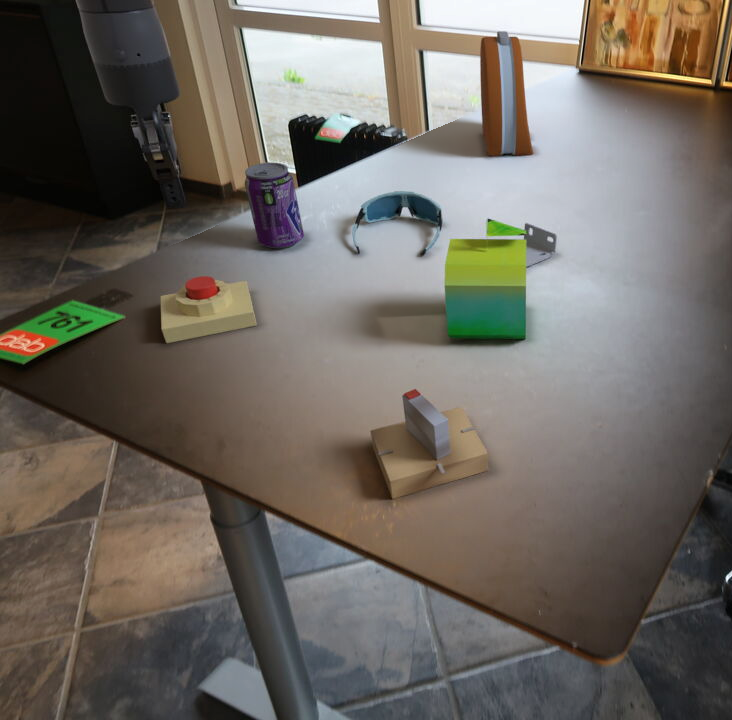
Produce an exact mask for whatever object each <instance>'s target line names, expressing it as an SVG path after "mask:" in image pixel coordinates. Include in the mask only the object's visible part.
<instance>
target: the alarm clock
mask: <svg viewBox="0 0 732 720" xmlns="http://www.w3.org/2000/svg"><path fill="white" fill-rule="evenodd" d="M479 54H480V55H479V59H480V61H479V64H480V65H479V68H480V70H479V71H480V74H479V75H480V77H479V78H480V79H479V80H480V103H481V123H482V124H481V125H482V134H483V139H484V144H485V149H486V153H487V156H489V157H501V156H503V155H504V154H512V155H513V156H531V155H534V154H535V152H534V148H533V146H532V140H531V139H532V138H531V134H530V129H529V121H528V110H527V103H526V90H525V77H524V62H523V61H524V60H523V54H522V47H521V43H520V39H519V37H518V36H510V35H509V33H508V32H507V31H505V30H504V31H501V30H500V31H497V32H496V36H484V37H481V40H480V51H479Z"/></svg>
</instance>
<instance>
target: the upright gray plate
mask: <svg viewBox="0 0 732 720" xmlns="http://www.w3.org/2000/svg"><path fill="white" fill-rule="evenodd" d="M401 397H402V404H403V413H404V422H406V429H407V430H408V431H409V432H410V433H411V434H412V435H413V436H414V437H415V438H416V439H417V440H418V441H419V442H420V443H421V444H422V445H423V446H424V447H425V448H426V449H427V450H428V451H429V453H430V454H431V455H432V456H433V457H434V458H435V459H436V460H439V459H441V458H443V457H445V456H447V455H449V454H450V441H449V427H448V419H447V418H446V417H445V416H444V415H443V414H442V413H441V412H442V411H440V410H439V409H438V408H436V406H435V405H433V404H432V403H431V402H430V401H429V400H428V399H427V398H426V397H425V396H424V395H423V394H422V393H421V392H419V390H418V389H416V388H414V389H411V390H408V391H407V392H404V393H403V394H402V395H401Z"/></svg>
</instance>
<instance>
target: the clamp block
mask: <svg viewBox="0 0 732 720" xmlns="http://www.w3.org/2000/svg"><path fill="white" fill-rule="evenodd" d="M440 412H441V413H442V414H443V415H444V416H445V417H446V418H447V419H448V427H449V441H450V454H449V455H447V456H445V457H443V458H441V459H439V460H436V459H435V458H434V457H433V456H432V455H431V454H430V453H429V451H428V450H427V449H426V448H425V447H424V446H423V445H422V444H421V443H420V442H419V441H418V440H417V439H416V438H415V437H414V436H413V435H412V434H411V433H410V432H409V431H408V430H407V429H406V422H405V421H401V422H398V423H394V424H390V425H387V426H383V427H377V428H375V429H374V428H373V429H371V430H370V437H371V444H372V449H373V451H374V454H375V457H376V459H377V460H376V461H377V462H378V464H379V467H380V470H381V473H382V476H383V478H384V480H385V484H386V486H387V489H388V491H389V494H390V496H391V499H392V500H394V499H398V498H401V497H405V496H409V495H411V494H414V493H417V492H422V491H425V490H428V489H431V488H435V487H438V486H442V485H445V484H448V483H451V482H453V481H454V482H455V481H458V480H462V479H465V478H468V477H471V476H475V475H478V474H482V473H485V472H488V471H489V456H488V454H489V453H488V451H487V449H486V448H485V446H484V444H483V442H482V441H481V439H480V437H479V435H478V434H477V431H476V426H473V425H472V422H471V421H470V419H469V417H468V416H467V413H466V412H465V410H464V409H463V406H459V407H455V408H452V409H447V410H444V411H440Z"/></svg>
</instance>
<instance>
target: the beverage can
mask: <svg viewBox="0 0 732 720" xmlns="http://www.w3.org/2000/svg"><path fill="white" fill-rule="evenodd" d="M244 173H245V180H244V188H245V193H246V196H247V201H248V204H249V209H250V213H251V217H252V221H253V226H254V231H255V234H256V238H257V242H258V243H259V244H260V245H261V246H264V247H267V248H270V249H286V248H289V247H292V246H294V245H296V244H297V243H299V242H301V241H302V240H303V239H304V237H305V234H304V228H303V223H302V218H301V212H300V207H299V202H298V197H297V192H296V186H295V182H294V178H293V176H292V175H291V173H290V171H289V168H288V166H287V165H286V164H284V163H280V162H262V163H257V164H254V165H251V166H249V167H247V168H246V169H245V171H244Z"/></svg>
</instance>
